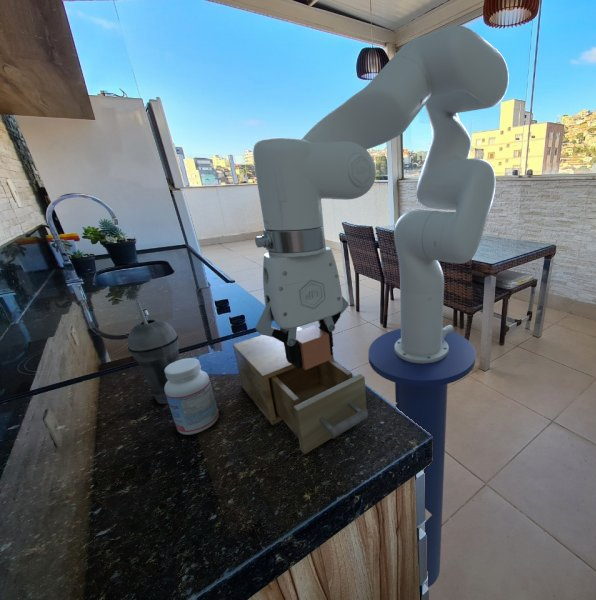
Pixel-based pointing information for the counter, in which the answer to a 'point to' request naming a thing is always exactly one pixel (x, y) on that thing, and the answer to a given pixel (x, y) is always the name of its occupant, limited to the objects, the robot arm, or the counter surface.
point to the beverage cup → (154, 351)
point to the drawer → (319, 402)
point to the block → (313, 346)
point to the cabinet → (261, 369)
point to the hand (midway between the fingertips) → (311, 357)
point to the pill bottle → (190, 396)
